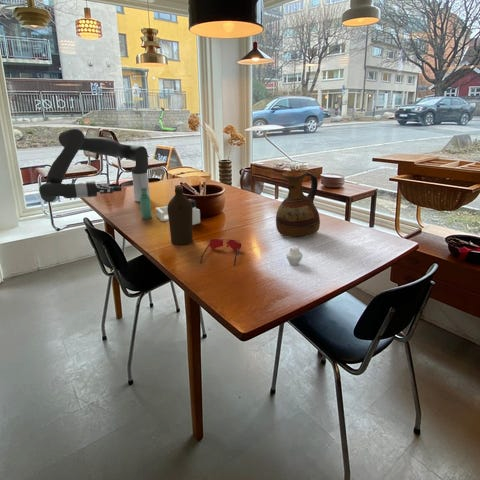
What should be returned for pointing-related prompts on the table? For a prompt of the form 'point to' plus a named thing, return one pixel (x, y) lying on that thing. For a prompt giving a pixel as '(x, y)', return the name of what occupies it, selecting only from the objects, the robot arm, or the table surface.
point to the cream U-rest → (162, 213)
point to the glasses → (219, 243)
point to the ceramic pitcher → (298, 207)
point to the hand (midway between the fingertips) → (120, 187)
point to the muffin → (294, 256)
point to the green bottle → (145, 204)
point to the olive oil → (180, 218)
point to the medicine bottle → (195, 213)
